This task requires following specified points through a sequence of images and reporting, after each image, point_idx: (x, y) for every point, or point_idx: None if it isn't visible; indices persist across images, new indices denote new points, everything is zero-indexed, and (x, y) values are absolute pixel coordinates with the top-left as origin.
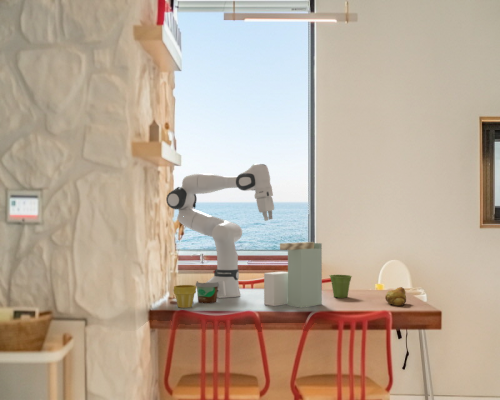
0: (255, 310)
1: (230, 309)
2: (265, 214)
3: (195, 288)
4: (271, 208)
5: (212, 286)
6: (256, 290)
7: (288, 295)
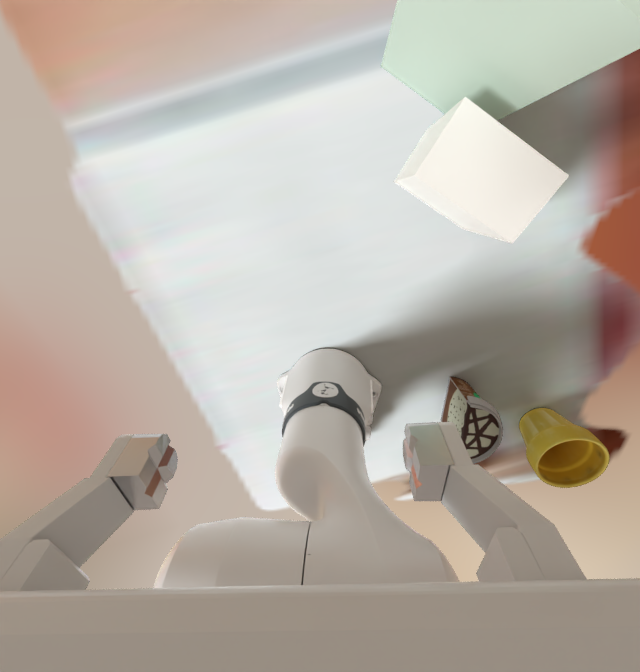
0: (589, 221)
1: (572, 302)
2: (536, 528)
3: (572, 433)
4: (68, 652)
5: (493, 408)
6: (196, 335)
7: None
